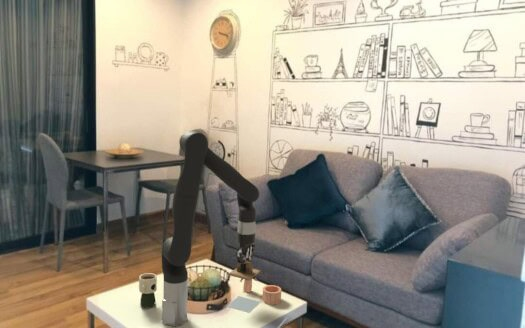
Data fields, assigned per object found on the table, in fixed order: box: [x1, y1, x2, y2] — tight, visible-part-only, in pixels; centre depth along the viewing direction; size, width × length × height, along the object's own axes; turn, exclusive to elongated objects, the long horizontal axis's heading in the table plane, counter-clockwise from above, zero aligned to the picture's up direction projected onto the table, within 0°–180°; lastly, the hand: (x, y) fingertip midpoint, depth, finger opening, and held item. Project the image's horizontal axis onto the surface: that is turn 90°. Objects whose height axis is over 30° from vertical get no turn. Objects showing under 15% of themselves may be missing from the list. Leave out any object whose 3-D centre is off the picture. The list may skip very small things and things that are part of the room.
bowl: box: [261, 284, 282, 306], centre depth 190 cm, size 8×8×6 cm
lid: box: [228, 260, 261, 280], centre depth 184 cm, size 10×10×6 cm
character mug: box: [138, 272, 158, 309], centre depth 182 cm, size 11×7×13 cm, turn 175°
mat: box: [226, 295, 261, 314], centre depth 186 cm, size 11×11×1 cm
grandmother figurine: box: [239, 275, 258, 293], centre depth 198 cm, size 8×4×13 cm, turn 112°
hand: (244, 270), depth 184 cm, fingers closed on lid, 2 cm apart
